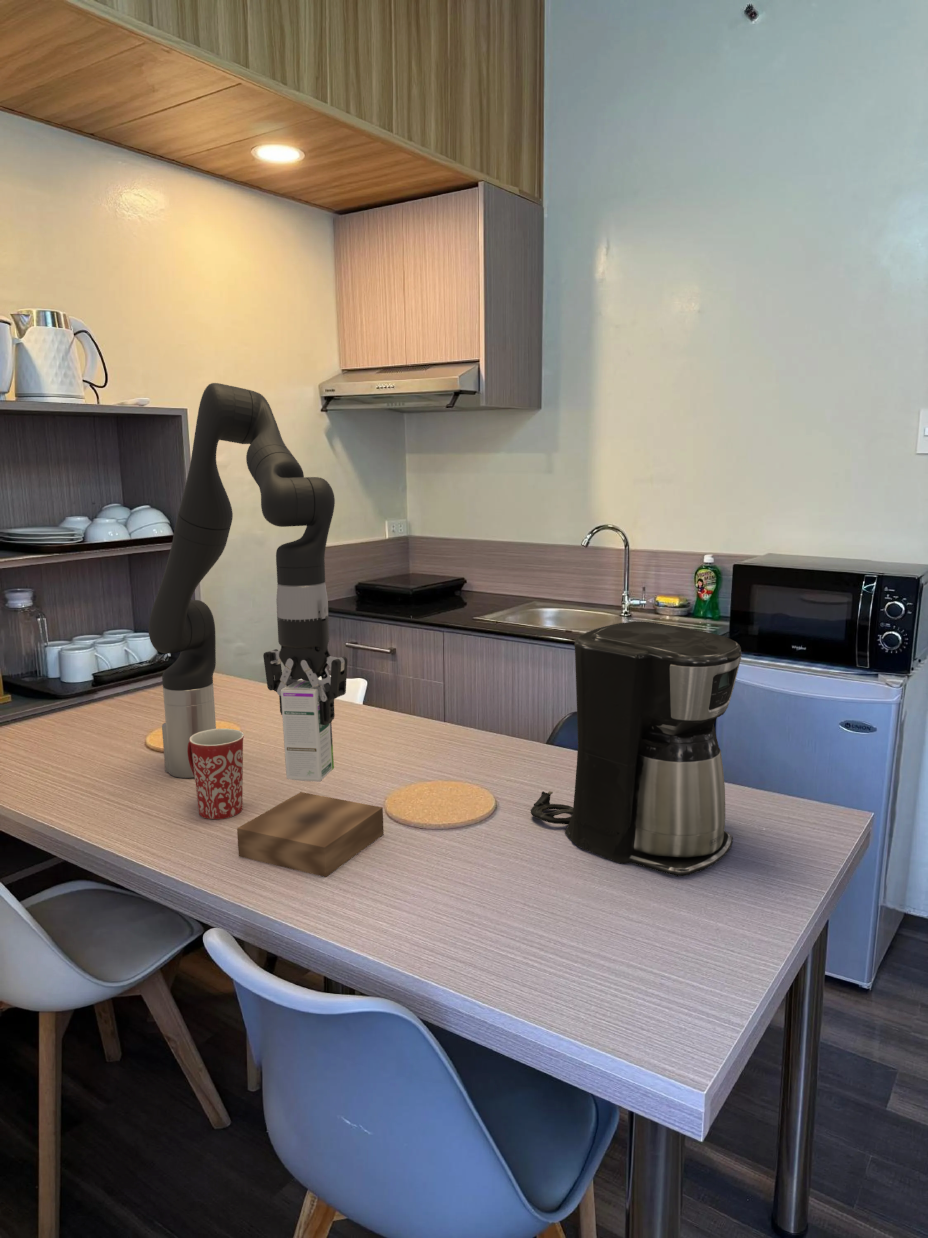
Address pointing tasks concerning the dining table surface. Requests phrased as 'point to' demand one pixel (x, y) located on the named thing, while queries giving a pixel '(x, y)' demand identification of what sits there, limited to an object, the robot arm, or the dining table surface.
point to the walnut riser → (310, 833)
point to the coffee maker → (650, 746)
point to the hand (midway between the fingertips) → (307, 720)
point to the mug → (217, 771)
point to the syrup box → (305, 734)
